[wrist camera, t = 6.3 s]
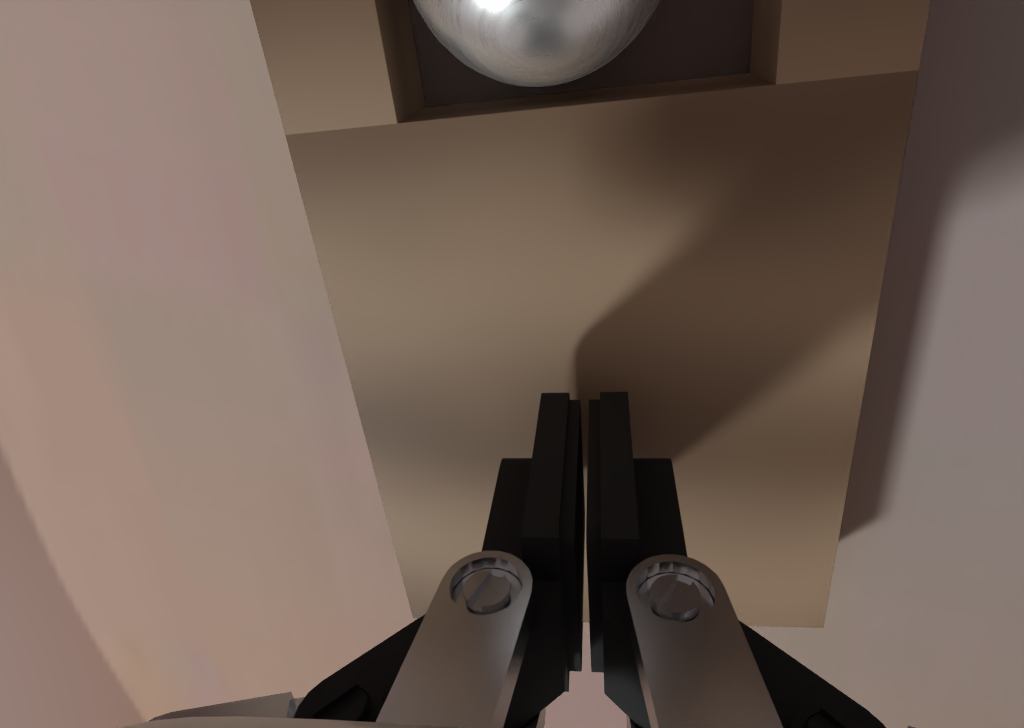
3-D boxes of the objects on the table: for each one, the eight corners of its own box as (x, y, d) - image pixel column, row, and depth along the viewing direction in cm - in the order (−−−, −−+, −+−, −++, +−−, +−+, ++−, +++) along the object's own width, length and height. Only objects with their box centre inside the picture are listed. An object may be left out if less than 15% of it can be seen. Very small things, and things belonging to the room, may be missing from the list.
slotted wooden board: (188, -485, 9) (90, -603, 7) (974, -702, 7) (1086, -915, 6) (430, 560, 18) (413, 617, 17) (800, 564, 17) (823, 627, 15)
